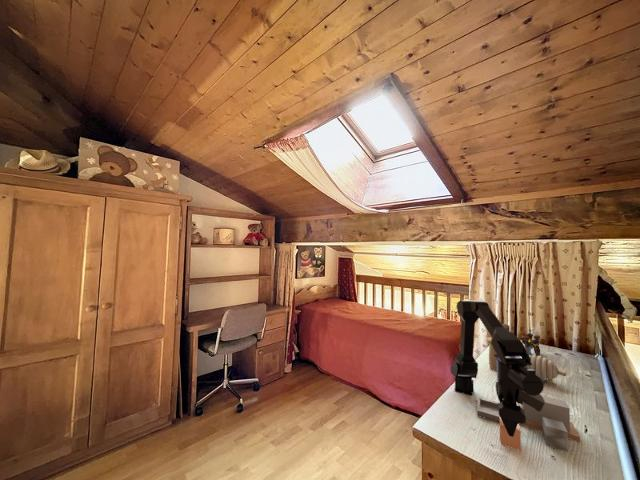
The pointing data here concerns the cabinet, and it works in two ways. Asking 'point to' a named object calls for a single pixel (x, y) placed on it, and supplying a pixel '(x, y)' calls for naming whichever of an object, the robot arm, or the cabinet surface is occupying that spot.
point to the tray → (488, 409)
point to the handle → (492, 355)
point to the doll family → (531, 344)
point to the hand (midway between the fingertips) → (509, 426)
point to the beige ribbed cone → (544, 368)
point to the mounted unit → (550, 415)
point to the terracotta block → (509, 440)
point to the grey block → (555, 434)
